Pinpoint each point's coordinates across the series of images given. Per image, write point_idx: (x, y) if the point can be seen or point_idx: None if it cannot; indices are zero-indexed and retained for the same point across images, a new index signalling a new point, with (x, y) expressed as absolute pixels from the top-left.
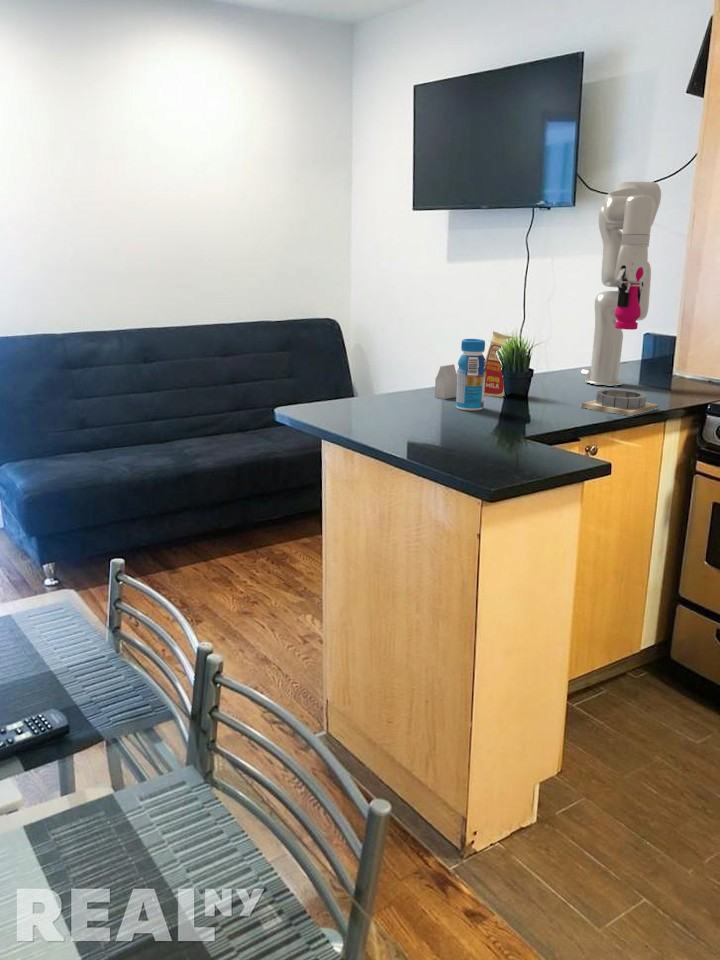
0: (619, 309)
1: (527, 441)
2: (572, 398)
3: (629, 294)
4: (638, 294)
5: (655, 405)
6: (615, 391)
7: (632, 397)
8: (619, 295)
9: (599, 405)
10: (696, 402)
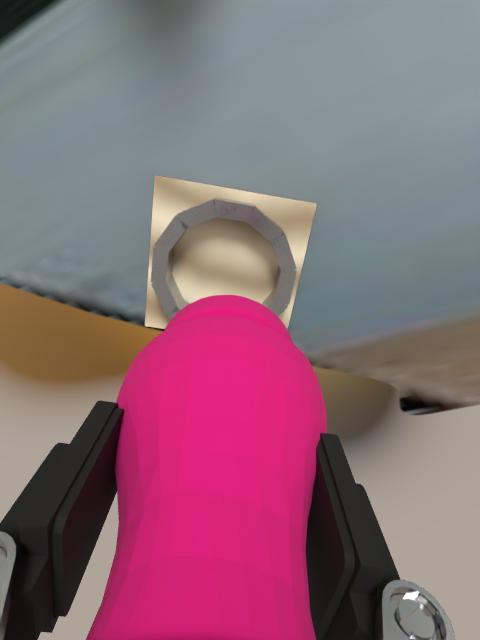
0: (119, 399)
1: None
2: (287, 77)
3: (57, 609)
4: None
5: None
6: (269, 240)
7: None
8: (42, 497)
9: (158, 232)
10: (440, 383)
